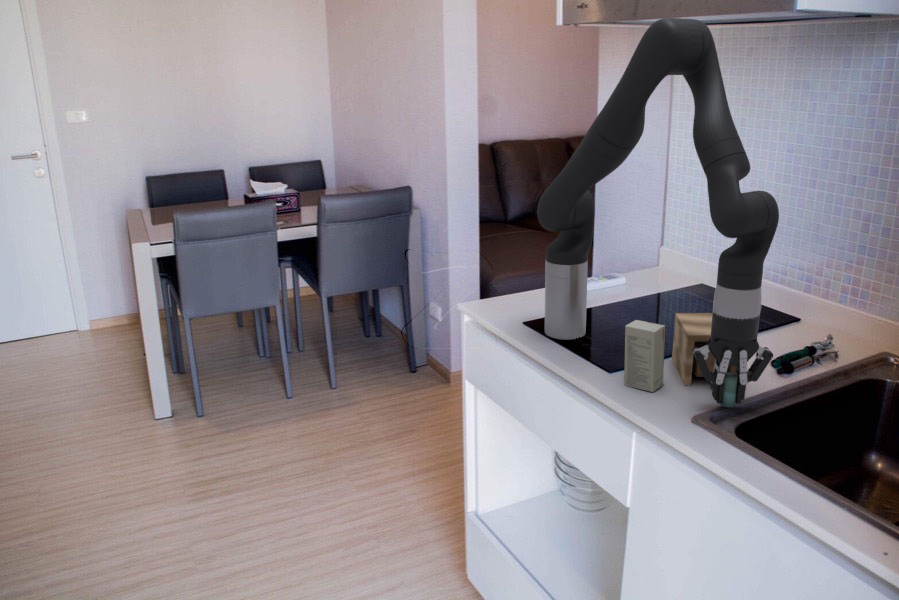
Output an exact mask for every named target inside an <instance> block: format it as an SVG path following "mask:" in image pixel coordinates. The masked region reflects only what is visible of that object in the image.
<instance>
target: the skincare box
mask: <svg viewBox="0 0 899 600" xmlns="http://www.w3.org/2000/svg"><path fill="white" fill-rule="evenodd" d="M624 337H625V338H624V370H623V371H624V372H623V374H624V376H623V377H624V378H623V379H624V381H623V383H624V385H625V386H629V387H632V388H636V389H639V390H642V391H647V392H650V393H654V392H655V391H657V390H658V389H659V388H661V387H662V386H663V385H664V369H665V368H664V367H665V366H664V362H665V342H666V341H665V339H666V325H663V324H661V323H660V324H658V323H655V322H650V321H649V322H648V321H644V320H640V319H635V320H633V321H631V322H629V323H627V324H625V327H624Z"/></svg>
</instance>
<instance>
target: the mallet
mask: <svg viewBox="0 0 899 600" xmlns="http://www.w3.org/2000/svg"><path fill="white" fill-rule="evenodd" d="M706 345H707V343H694V347H697V348H701V347H703V346H706ZM705 362H706V364H707V366H708V368H709V370H710V372H713V371H714V363H715V358H714V356H713V355H712V353H711V352H708V358H707V359H706V360H705ZM692 373H694V375H695V377H696V378H699V377H700V378H705V377H704V376H703V374H702V372H701V370H700V367H699V365H698V363H697V361H696V359H695V356H694V354H693V366H692ZM737 381H738V375H736V374H734V373H725V376H724V380H723V385H724V389H723V399H722V403H719V405H720V406H722V407H724V408H734V407H735V406H736V403H735V401H736V391H737ZM710 383H711V385H712V386H713V382H712V381H710Z"/></svg>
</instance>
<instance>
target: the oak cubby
mask: <svg viewBox="0 0 899 600" xmlns="http://www.w3.org/2000/svg"><path fill="white" fill-rule="evenodd" d="M712 314H713V312H675V314H674V324H673V325H674V326H673V338H672V339H673V340H672V353H671V354H672V355H671V361H672V362H673V365H674V366H675V369H676V371H677V373H678V375H679V377H680V379H681V381H682V383H683V385H684V386H691V385H692V377H693V370H692V366H693V352H692V349H693V348H694V343H707V342H708V340H709V339H710V336H711V325H712ZM726 373H734V374H736V367H735V366H733V365H732V366H728V368H727V372H726Z"/></svg>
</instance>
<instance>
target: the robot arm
mask: <svg viewBox="0 0 899 600" xmlns="http://www.w3.org/2000/svg"><path fill="white" fill-rule="evenodd" d="M719 62H720V61H719V56H718V51H717V47H716V42H715V40H714V36H713V34H712V31H711V30H710V28H709V26H708V25H707V24H706V23H704V22H703V21H701V20H699V19H694V18H680V17H678V18H676V17H664V18H660V19H658V20H656V21H654V22H653V23H652V24H650V25H649V27H648V28H647V29H646V30H645V32H644V34H643V35H642V37H641V39H640V40H639V42H638V44H637V46H636V48H635V50H634V52H633V54H632V56H631V58H630V61H629V62H628V64H627V66H626V67H625V70H624V72H623V74H622V76H621V77H620V79H619V81H618V83H617V84H616V86H615V88H614V89H613V91H612V93H611V94H610V96H609V98H608V99H607V101H606V102H605V104H604V105H603V107H602V109H601V111H600V112H599V113H598V114H597V116H596V118H595V119H594V121H593V122H592V124H591V125H590V127H589V129H588V130H587V131H586V133H585V135H584V137H583V139H582V140H581V141H580V143H579V145H577V148H576V149H575V151H574V152H573V154H572V155H571V157H570V158H569V159H568V161H567V163H566V164H565V165H564V167H563V168H562V170H561V171H560V172H559V174H558V175H557V176H556V177H555V178H554V179H553V181H552V182H551V183H550V184H549V186H548V187H547V188H546V189H545V190H544V192H543V193H542V195H541V196H540V198H539V201H538V203H537V204H538V205H537V209H536V210H537V211H536V212H537V219H538V222H539V224H540V226H541V227H542V228H543V229H545V230H547V231H549V232H553V233H554V232H555V233H557V232H560V233H559V234H558V236H557V237H556V238H555V239H554V240H553V241H552V242H550V243H549V244H548V245H547V246H546V248H545V253H544V254H545V257H544V258H545V260H544V261H545V262H544V263H545V264H544V266H545V267H544V275H545V276H544V277H545V278H544V281H545V282H544V334H545V335H546V336H548V337H550V338H553V339H556V340H565V341H566V340H567V341H569V340H576V338H577V339H579V337H580V338H582V337H584V336H585V335H586V333H587V332H586V331H587V330H586V327H587V306H588V305H587V302H588V301H587V299H588V267H589V265H588V263H589V252H590V251H591V248H592V246H593V244H592V243H593V234H594V226H595V225H594V224H595V202H594V197H593V195H592V193H591V191H590V190H591V188H593V187H594V186H595V185H596V184H598V183H599V182H600V181H602V180H603V179H605V178H606V177H608V176H609V175H610V174H611V173H613V172H614V171H616V170H617V169H618V168H619V167H620V166H621V165H622V164H623V163H624V162H625V161H626V159H627V158H629V156H630V154H631V153H632V151H633V150H634V149H635V147H636V146H637V144H638V143H639V141H640V140H641V138H642V137H643V136H642V135H643V133H644V129H645V122H646V120H645V119H646V106H647V103H648V101H649V99H650V97H651V96H652V94H654V91H655V90H656V88H658V86H659V85H660V84H661V82H662V81H663V80H664V79H665V78H666V77H668V76H683V78H684V80H685V82H686V83H687V85H688V87H689V89H690V91H691V93H692V97H693V103H694V113H693V114H694V117H693V124H692V138H693V143H694V148H695V151H696V155H697V157H698V159H699V162H700V165H701V168H702V170H703V172H704V175H705V176H706V183H707V184H706V185H707V195H708V205H709V214H710V218H711V221H712V224H713V225H714V227H715V229H716V231H718V232H719V234H721V235H722V236H724V237H725V238H727V239H736V240H735V241H734V243H733V244H732V245H731V246H729V247H727V248H725V249H724V250H723V251H722V252H721V253H720V255H719V258H718V265H717V267H718V268H717V273H716V275H717V277H716V284H715V285H716V286H715V290H714V295H713V304H712V313H713V314H712V325H711V336H710V339H709V340H708V342H707V345H706V346H703V347H701V348H697V347H694V348H693V349H692V352H693V354H694V356H695V359H696V361H697V363H698V365H699V367H700V370H701V372H702V374H703V376H704V377H703V378H704V379H705V380H706V382H710V381H712V382H713V385H712V386H711V388H712V391H711V396H712V398H713V400H714V401H716V403H717V404H720V403H722V399H723V389H724V385H723V380H724V376H725V373H726V372H727V368H728V366H732V365H733V366H735V367H736V375H738V381H737V391H736V401H735V404H742V401H744V400H745V396H746V389H747V388H746V387H747V384H748V383H751V382H757V381H758V380H759V379H760V377H761V375H762V374H763V373H764V372H765V370H766V368H767V367H768V365H769V363H770V362H771V360H772V359H773V358H774V354H773V352H772V351H771V350H770V349H769V348H768V347H766V346H764V347H763V346H761V345H760V344H759V341H758V335H759V334H758V333H759V327H760V326H759V325H760V317H761V311H762V284H763V283H762V281H763V274H764V263H765V260H766V257H767V255H768V253H769V250H770V248H771V245H772V242H773V240H774V237H775V235H776V231H777V228H778V226H779V220H780V210H779V206H778V202H777V200H776V199H775V197H774V196H773V195H772V194H771V193H769V192H767V191H765V190H753V191H748V192H741V189H740V181H741V180H743V179H744V178H746V177H747V176H748V175H749V173H750V171H751V164H750V159H749V157H748V155H747V152H746V149H745V147H744V145H743V142H742V140H741V137H740V134H739V133H738V130H737V128H736V125H735V122H734V119H733V116H732V112H731V109H730V106H729V103H728V99H727V98H728V97H727V94H726V90H725V89H726V87H725V85H724V80H723V76H722V72H721V67H720V63H719ZM708 352H711V353H712V355H713V356H714V358H715V363H714V371H713V372H710V370H709V368H708V366H707V364H706V362H705V360H706V359H707V358H708ZM754 355H755V357H756V358H755V359H754V361H753V362H752V363H751V365H750V367H749V368H748V362H749V361H750V360H751V358H753V356H754ZM710 383H711V382H710Z"/></svg>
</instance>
